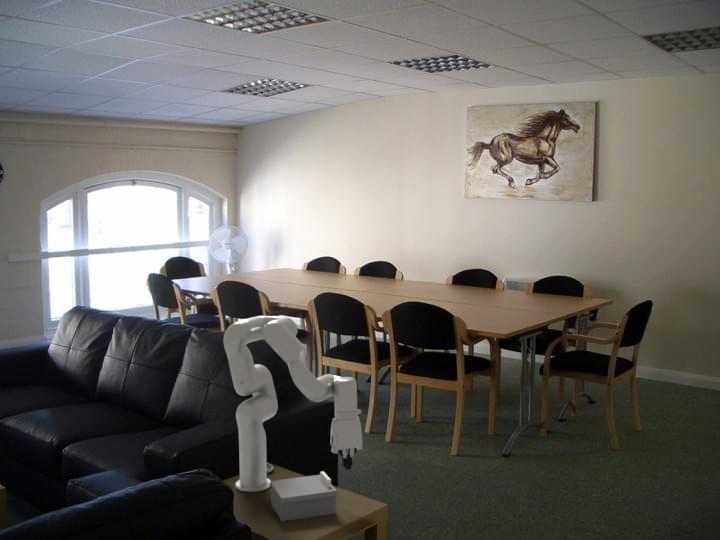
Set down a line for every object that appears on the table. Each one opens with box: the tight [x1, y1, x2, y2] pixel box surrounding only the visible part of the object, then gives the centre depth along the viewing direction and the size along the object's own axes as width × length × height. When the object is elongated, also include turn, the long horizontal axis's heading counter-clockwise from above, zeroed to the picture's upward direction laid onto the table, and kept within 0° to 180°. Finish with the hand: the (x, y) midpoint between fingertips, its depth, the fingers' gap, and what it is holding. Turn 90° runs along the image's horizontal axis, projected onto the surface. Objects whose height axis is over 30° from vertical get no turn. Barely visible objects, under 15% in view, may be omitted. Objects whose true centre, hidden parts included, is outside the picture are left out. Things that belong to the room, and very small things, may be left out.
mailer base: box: [270, 485, 337, 522], centre depth 247 cm, size 14×18×7 cm
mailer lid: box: [270, 470, 338, 503], centre depth 246 cm, size 16×18×4 cm
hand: (347, 468), depth 251 cm, fingers closed
